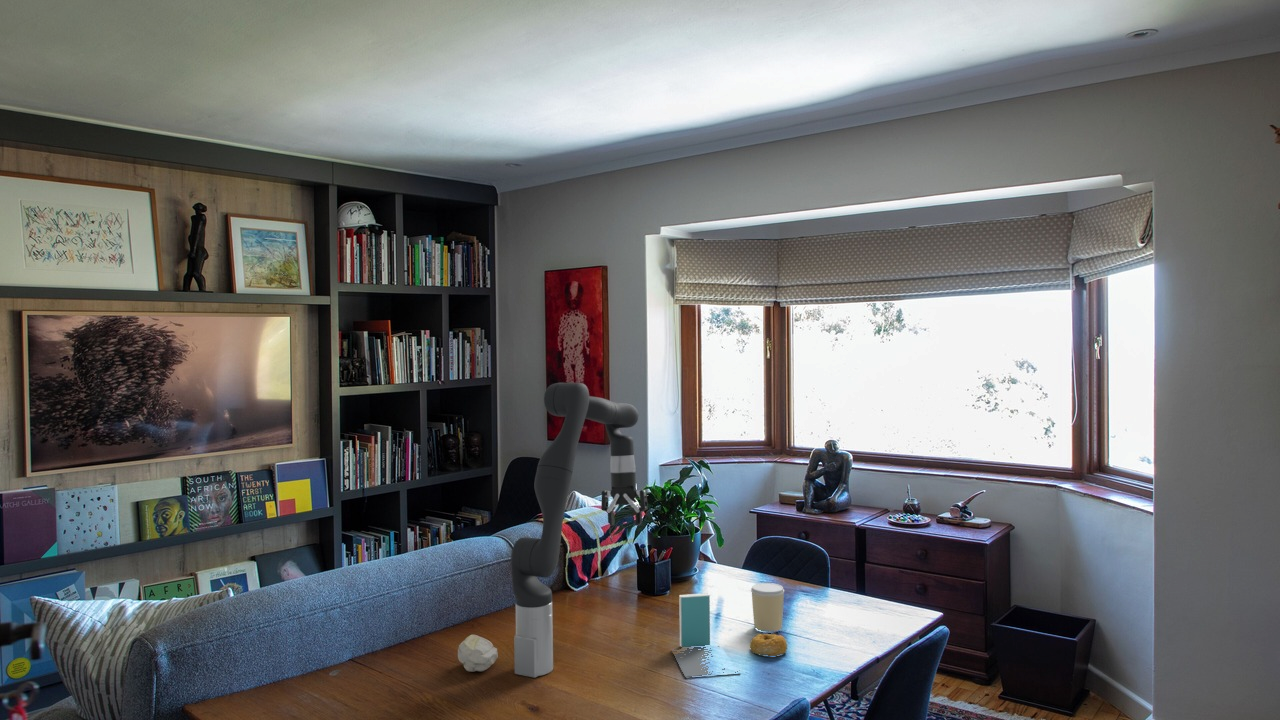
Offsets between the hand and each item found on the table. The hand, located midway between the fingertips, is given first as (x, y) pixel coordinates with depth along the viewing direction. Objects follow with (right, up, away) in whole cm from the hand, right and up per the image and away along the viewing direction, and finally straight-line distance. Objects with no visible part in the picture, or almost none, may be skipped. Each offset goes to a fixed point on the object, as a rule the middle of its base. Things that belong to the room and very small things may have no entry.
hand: (625, 525), depth 242 cm
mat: (+21, -28, -35) cm, 49 cm away
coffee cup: (+41, -28, -11) cm, 51 cm away
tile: (+19, -28, -24) cm, 41 cm away
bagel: (+39, -28, -27) cm, 55 cm away
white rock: (-37, -29, -36) cm, 59 cm away
